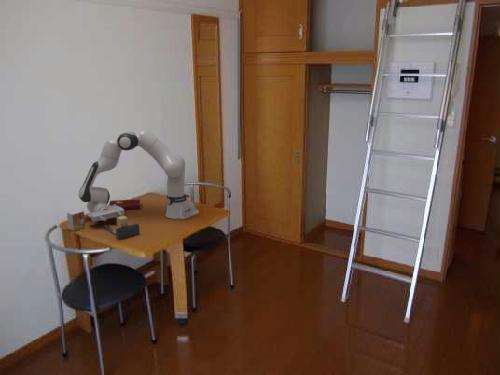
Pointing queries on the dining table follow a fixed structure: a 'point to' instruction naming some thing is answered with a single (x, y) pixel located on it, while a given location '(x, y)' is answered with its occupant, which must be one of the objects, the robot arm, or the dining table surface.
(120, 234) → the pallet fork attachment
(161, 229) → the dining table surface
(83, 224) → the small box
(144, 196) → the dining table surface
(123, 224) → the tall tan pillar block
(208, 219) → the dining table surface
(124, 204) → the hardcover book
